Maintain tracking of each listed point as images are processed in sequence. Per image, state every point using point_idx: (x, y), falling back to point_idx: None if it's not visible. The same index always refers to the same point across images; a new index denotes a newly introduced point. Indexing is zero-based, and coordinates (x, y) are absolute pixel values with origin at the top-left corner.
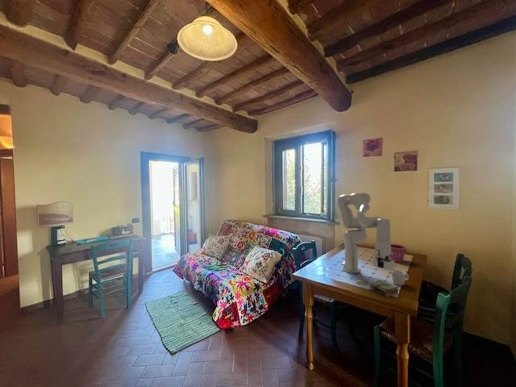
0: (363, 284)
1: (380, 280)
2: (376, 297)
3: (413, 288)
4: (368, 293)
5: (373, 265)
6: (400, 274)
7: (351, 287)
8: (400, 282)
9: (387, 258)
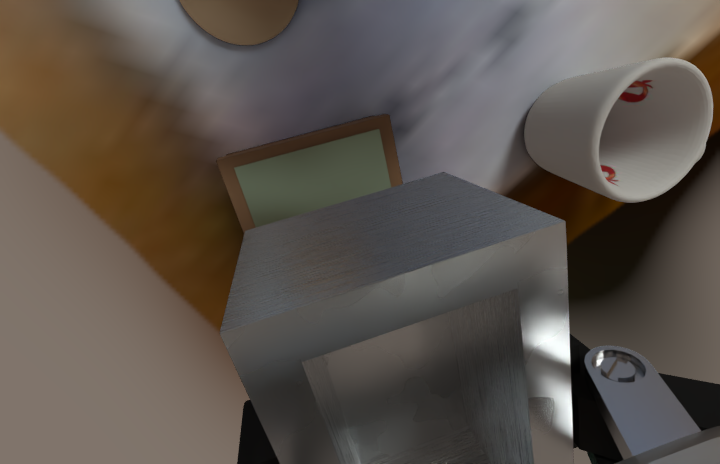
0: (220, 38)
1: (386, 130)
2: (185, 290)
3: (571, 226)
4: (157, 217)
5: (247, 236)
6: (610, 195)
7: (31, 46)
8: (551, 172)
9: (586, 444)
